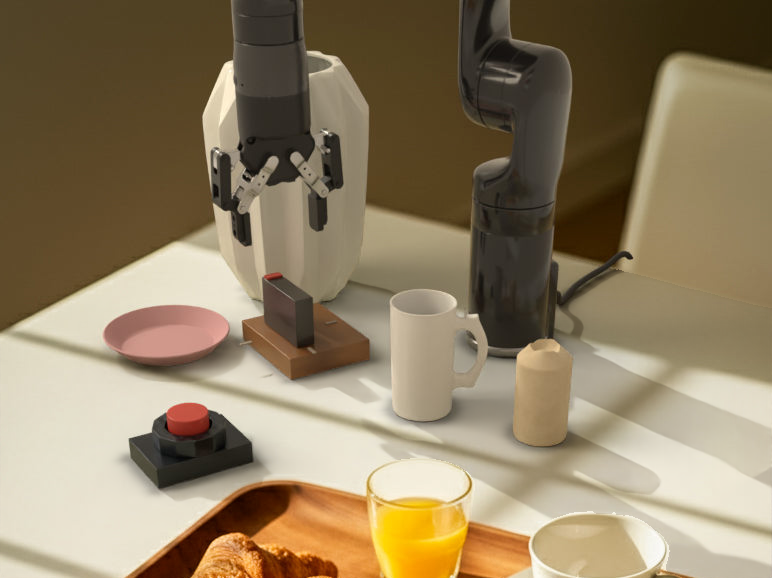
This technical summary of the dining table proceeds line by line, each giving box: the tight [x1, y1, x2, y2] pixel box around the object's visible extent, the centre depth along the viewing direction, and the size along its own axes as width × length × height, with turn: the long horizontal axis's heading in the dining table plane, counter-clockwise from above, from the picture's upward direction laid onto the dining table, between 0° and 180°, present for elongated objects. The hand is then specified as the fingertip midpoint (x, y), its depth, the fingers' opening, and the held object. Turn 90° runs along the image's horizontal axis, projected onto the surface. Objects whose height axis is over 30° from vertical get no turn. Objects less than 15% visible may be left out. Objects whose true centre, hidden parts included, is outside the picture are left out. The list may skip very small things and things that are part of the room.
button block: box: [128, 409, 254, 490], centre depth 132 cm, size 10×7×4 cm
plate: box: [102, 304, 231, 367], centre depth 154 cm, size 14×14×2 cm
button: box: [166, 402, 210, 436], centre depth 130 cm, size 4×4×2 cm
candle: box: [512, 339, 574, 447], centre depth 135 cm, size 6×6×10 cm
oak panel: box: [239, 302, 371, 381], centre depth 152 cm, size 13×12×3 cm
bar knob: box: [262, 272, 314, 348], centre depth 150 cm, size 8×2×6 cm, turn 32°
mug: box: [389, 288, 488, 422], centre depth 139 cm, size 10×7×12 cm, turn 84°
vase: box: [202, 50, 370, 304], centre depth 161 cm, size 20×20×28 cm
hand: (281, 236), depth 145 cm, fingers open, 8 cm apart
